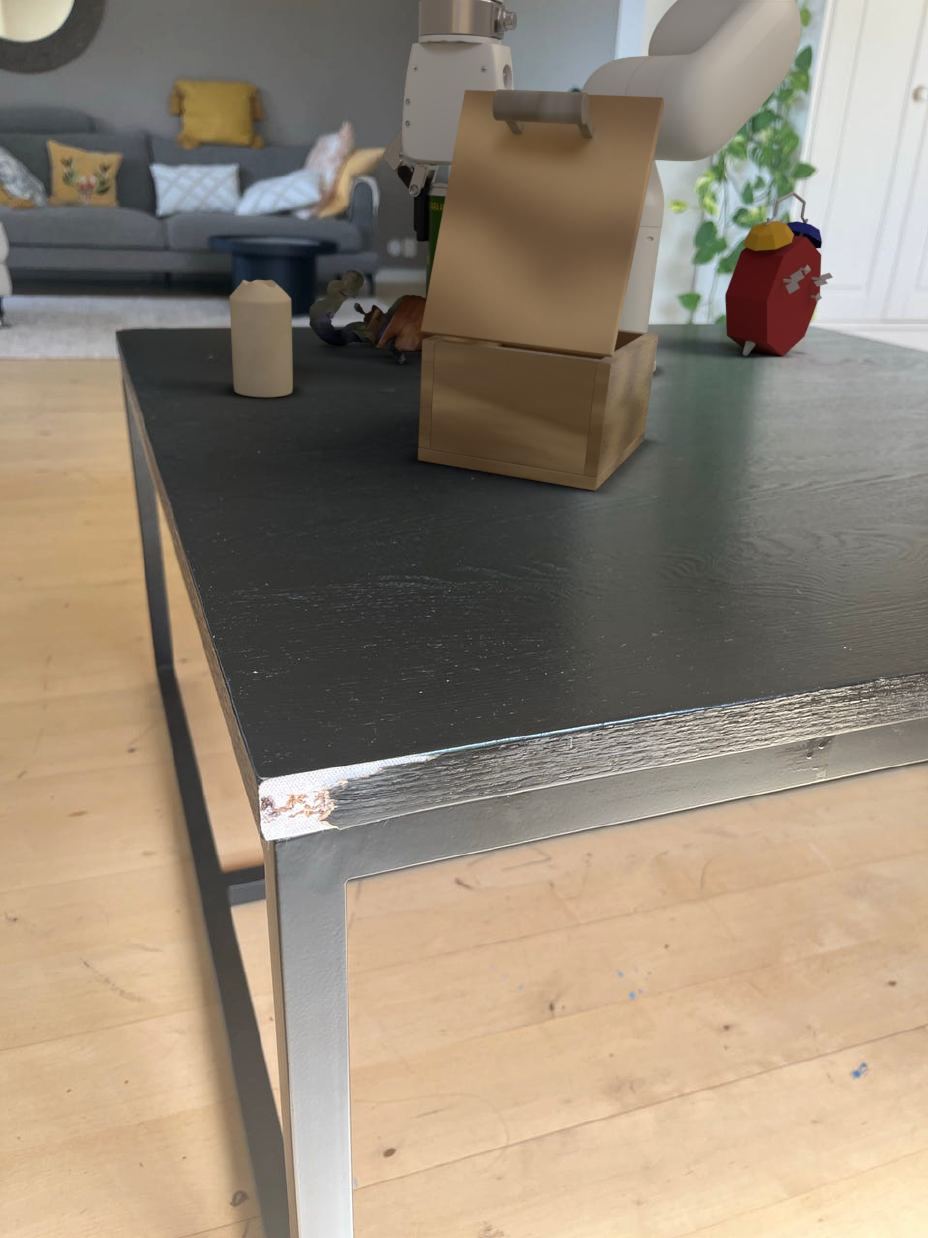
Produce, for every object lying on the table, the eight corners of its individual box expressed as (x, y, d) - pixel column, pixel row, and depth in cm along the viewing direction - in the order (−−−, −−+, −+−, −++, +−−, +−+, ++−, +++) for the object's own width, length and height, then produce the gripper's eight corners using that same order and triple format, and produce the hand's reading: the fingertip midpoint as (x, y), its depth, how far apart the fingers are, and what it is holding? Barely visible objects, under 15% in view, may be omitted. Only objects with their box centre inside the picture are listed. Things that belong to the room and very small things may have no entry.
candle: (280, 400, 88) (277, 285, 83) (224, 394, 88) (218, 280, 84) (301, 388, 92) (299, 280, 88) (247, 382, 93) (243, 275, 89)
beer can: (486, 316, 96) (491, 185, 90) (435, 318, 94) (438, 184, 88) (467, 308, 100) (471, 182, 95) (418, 309, 98) (420, 181, 93)
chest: (490, 418, 86) (498, 314, 82) (643, 441, 82) (658, 333, 78) (417, 460, 73) (421, 339, 69) (595, 491, 68) (611, 363, 64)
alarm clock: (768, 344, 136) (797, 190, 127) (825, 354, 131) (859, 195, 122) (714, 353, 126) (741, 187, 117) (773, 364, 121) (807, 191, 112)
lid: (468, 94, 67) (443, 56, 62) (665, 102, 63) (654, 61, 58) (424, 333, 69) (396, 314, 64) (613, 357, 64) (598, 339, 60)
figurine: (341, 379, 118) (288, 337, 106) (357, 312, 119) (305, 264, 107) (450, 390, 112) (406, 347, 101) (466, 320, 113) (424, 269, 101)
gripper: (563, 31, 86) (548, 246, 94) (392, 32, 92) (392, 234, 100) (537, 21, 80) (523, 251, 88) (356, 22, 85) (358, 239, 94)
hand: (453, 240), depth 94 cm, fingers closed on beer can, 5 cm apart
